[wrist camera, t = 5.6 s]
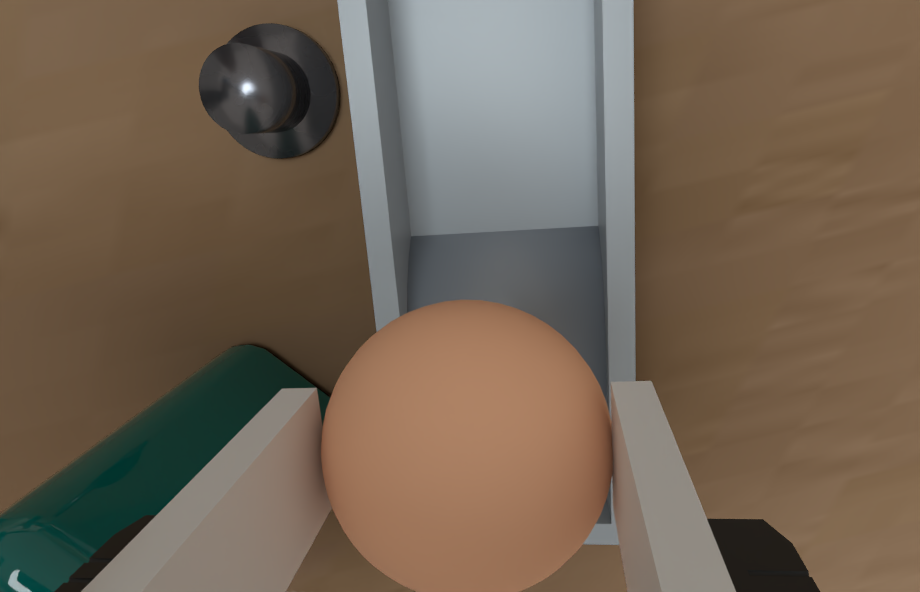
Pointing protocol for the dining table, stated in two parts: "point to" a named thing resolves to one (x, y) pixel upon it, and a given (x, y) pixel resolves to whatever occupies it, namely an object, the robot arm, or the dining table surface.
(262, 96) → the tee
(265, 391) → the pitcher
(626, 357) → the lane
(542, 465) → the ball
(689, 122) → the dining table surface
